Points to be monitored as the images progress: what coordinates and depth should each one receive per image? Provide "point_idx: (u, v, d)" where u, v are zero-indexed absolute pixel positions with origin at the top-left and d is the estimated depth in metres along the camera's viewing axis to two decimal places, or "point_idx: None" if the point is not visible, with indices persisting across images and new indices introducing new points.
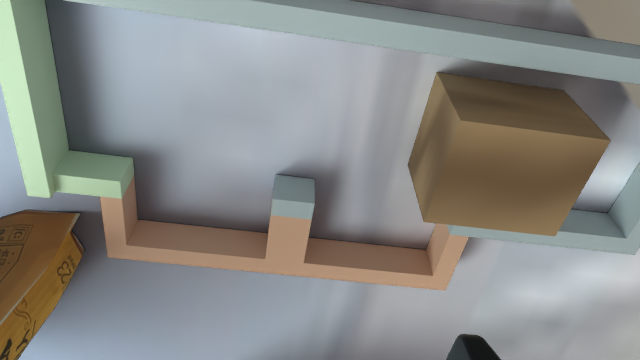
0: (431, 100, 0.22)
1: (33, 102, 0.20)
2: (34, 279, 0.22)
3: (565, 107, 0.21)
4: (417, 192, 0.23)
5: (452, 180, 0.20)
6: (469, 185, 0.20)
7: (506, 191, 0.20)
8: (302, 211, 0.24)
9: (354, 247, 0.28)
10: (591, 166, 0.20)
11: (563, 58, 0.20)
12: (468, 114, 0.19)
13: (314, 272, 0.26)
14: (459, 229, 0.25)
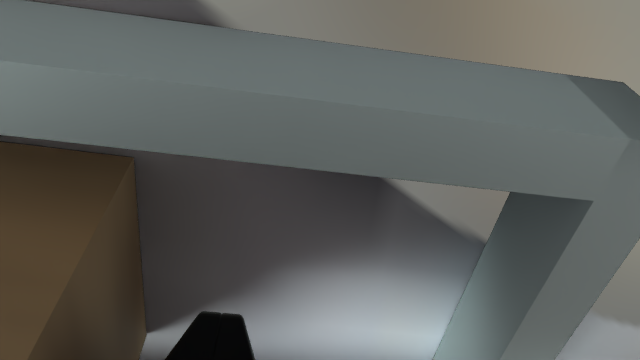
0: None
1: None
2: None
3: (39, 228, 0.07)
4: None
5: None
6: None
7: None
8: None
9: None
10: None
11: (25, 95, 0.06)
12: None
13: None
14: None
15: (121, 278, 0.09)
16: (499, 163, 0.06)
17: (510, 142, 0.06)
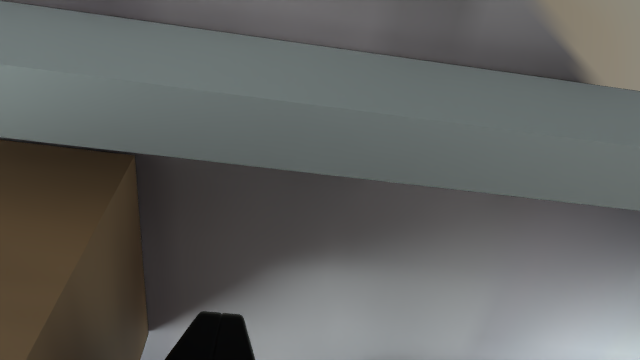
0: None
1: None
2: None
3: (40, 225, 0.07)
4: None
5: None
6: None
7: None
8: None
9: None
10: None
11: (502, 157, 0.06)
12: None
13: None
14: None
15: (122, 276, 0.09)
16: None
17: None
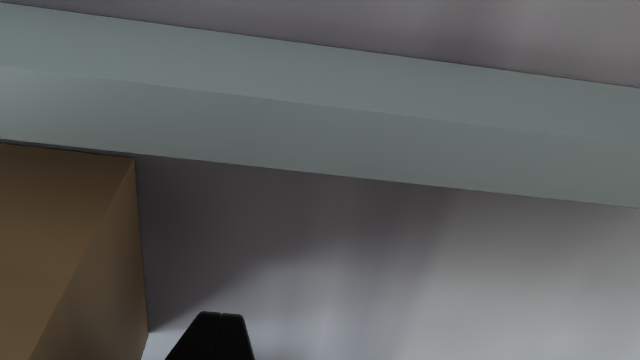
0: None
1: None
2: None
3: (40, 229, 0.07)
4: None
5: None
6: None
7: None
8: None
9: None
10: None
11: None
12: None
13: None
14: None
15: (122, 278, 0.09)
16: None
17: None
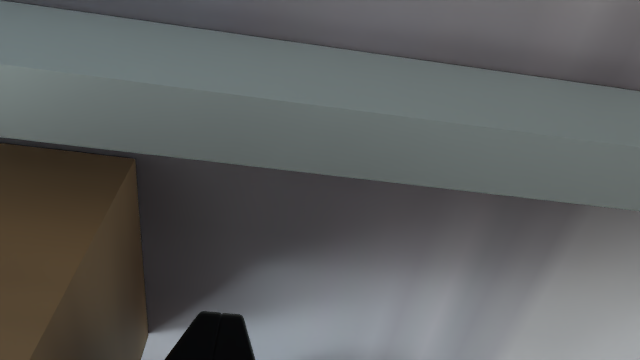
0: None
1: None
2: None
3: (41, 229, 0.07)
4: None
5: None
6: None
7: None
8: None
9: None
10: None
11: None
12: None
13: None
14: None
15: (123, 278, 0.09)
16: None
17: None
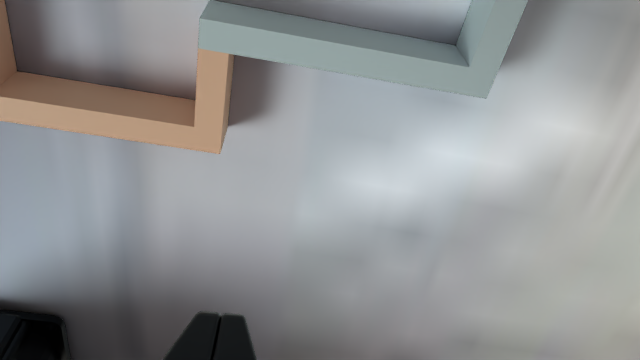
0: None
1: None
2: None
3: None
4: None
5: None
6: None
7: None
8: None
9: (91, 88, 0.19)
10: None
11: None
12: None
13: (12, 113, 0.18)
14: (210, 38, 0.16)
15: None
16: None
17: None
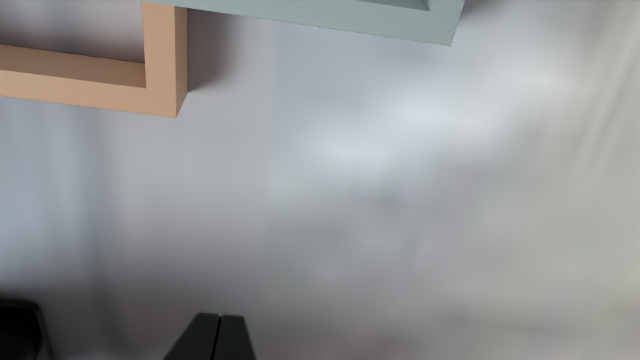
0: None
1: None
2: None
3: None
4: None
5: None
6: None
7: None
8: None
9: (42, 54, 0.18)
10: None
11: None
12: None
13: None
14: None
15: None
16: None
17: None
